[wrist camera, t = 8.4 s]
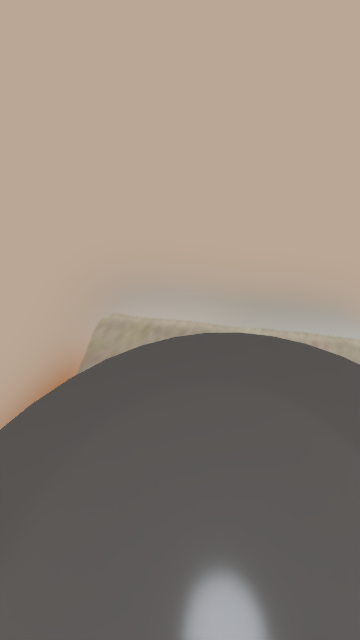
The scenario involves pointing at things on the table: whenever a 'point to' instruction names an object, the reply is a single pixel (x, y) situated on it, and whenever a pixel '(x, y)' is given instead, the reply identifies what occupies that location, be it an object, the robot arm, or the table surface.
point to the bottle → (186, 497)
